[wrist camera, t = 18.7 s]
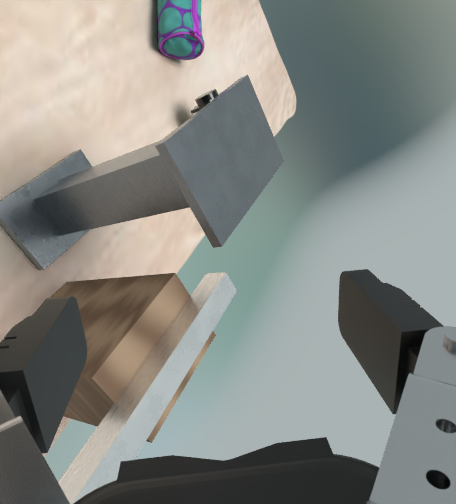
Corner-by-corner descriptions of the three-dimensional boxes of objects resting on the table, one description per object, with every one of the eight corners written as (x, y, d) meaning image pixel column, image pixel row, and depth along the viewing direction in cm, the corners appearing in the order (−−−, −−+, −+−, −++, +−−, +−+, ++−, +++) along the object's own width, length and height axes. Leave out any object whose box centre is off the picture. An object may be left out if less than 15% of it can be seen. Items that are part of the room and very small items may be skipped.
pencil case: (149, -49, 77) (184, -78, 71) (181, -20, 84) (215, -44, 78) (147, 49, 74) (184, 26, 68) (180, 71, 81) (216, 52, 75)
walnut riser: (39, 409, 52) (151, 442, 39) (-14, 359, 47) (91, 377, 34) (106, 329, 61) (215, 335, 48) (67, 282, 57) (175, 272, 43)
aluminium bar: (73, 512, 32) (95, 524, 30) (50, 493, 30) (71, 505, 29) (217, 291, 49) (236, 291, 47) (206, 273, 47) (225, 272, 46)
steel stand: (38, 270, 54) (222, 246, 34) (-14, 209, 49) (163, 142, 30) (112, 206, 64) (283, 161, 45) (74, 151, 60) (247, 74, 40)
